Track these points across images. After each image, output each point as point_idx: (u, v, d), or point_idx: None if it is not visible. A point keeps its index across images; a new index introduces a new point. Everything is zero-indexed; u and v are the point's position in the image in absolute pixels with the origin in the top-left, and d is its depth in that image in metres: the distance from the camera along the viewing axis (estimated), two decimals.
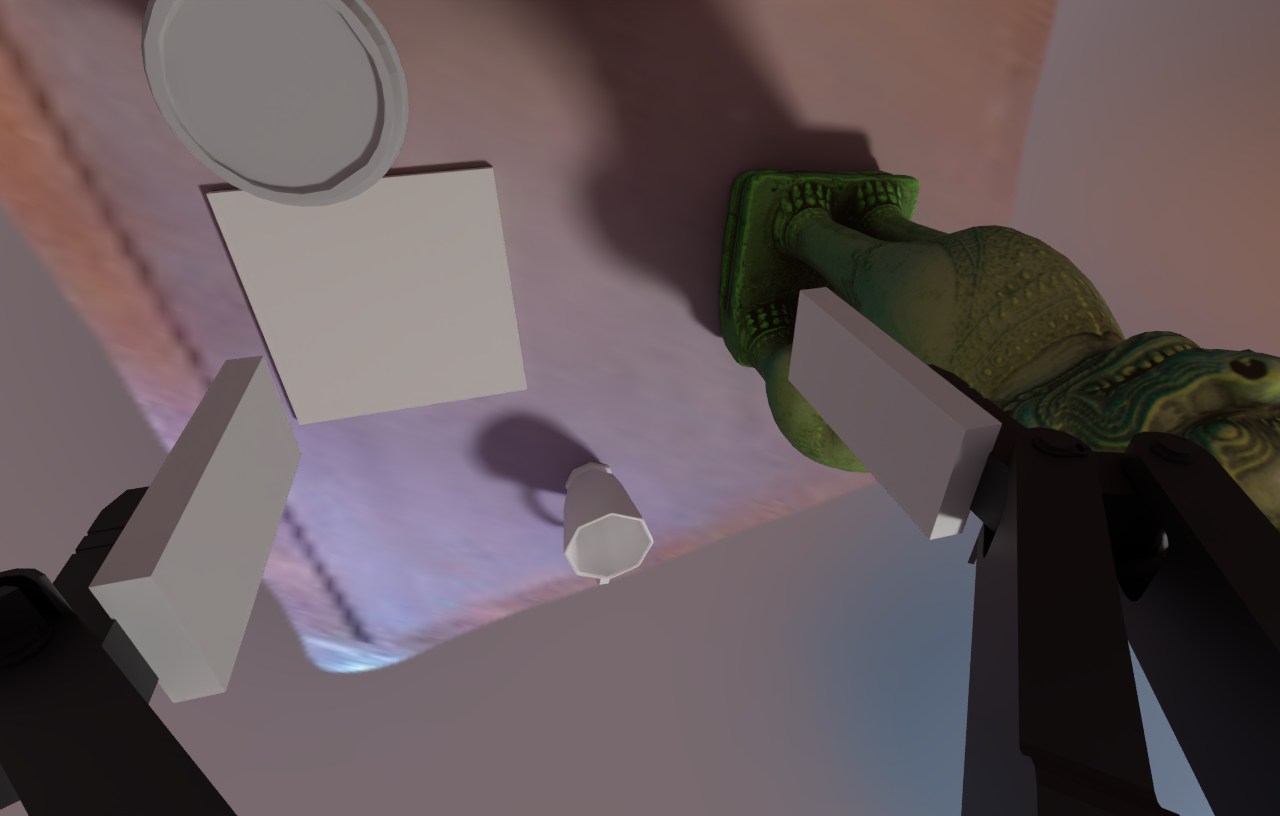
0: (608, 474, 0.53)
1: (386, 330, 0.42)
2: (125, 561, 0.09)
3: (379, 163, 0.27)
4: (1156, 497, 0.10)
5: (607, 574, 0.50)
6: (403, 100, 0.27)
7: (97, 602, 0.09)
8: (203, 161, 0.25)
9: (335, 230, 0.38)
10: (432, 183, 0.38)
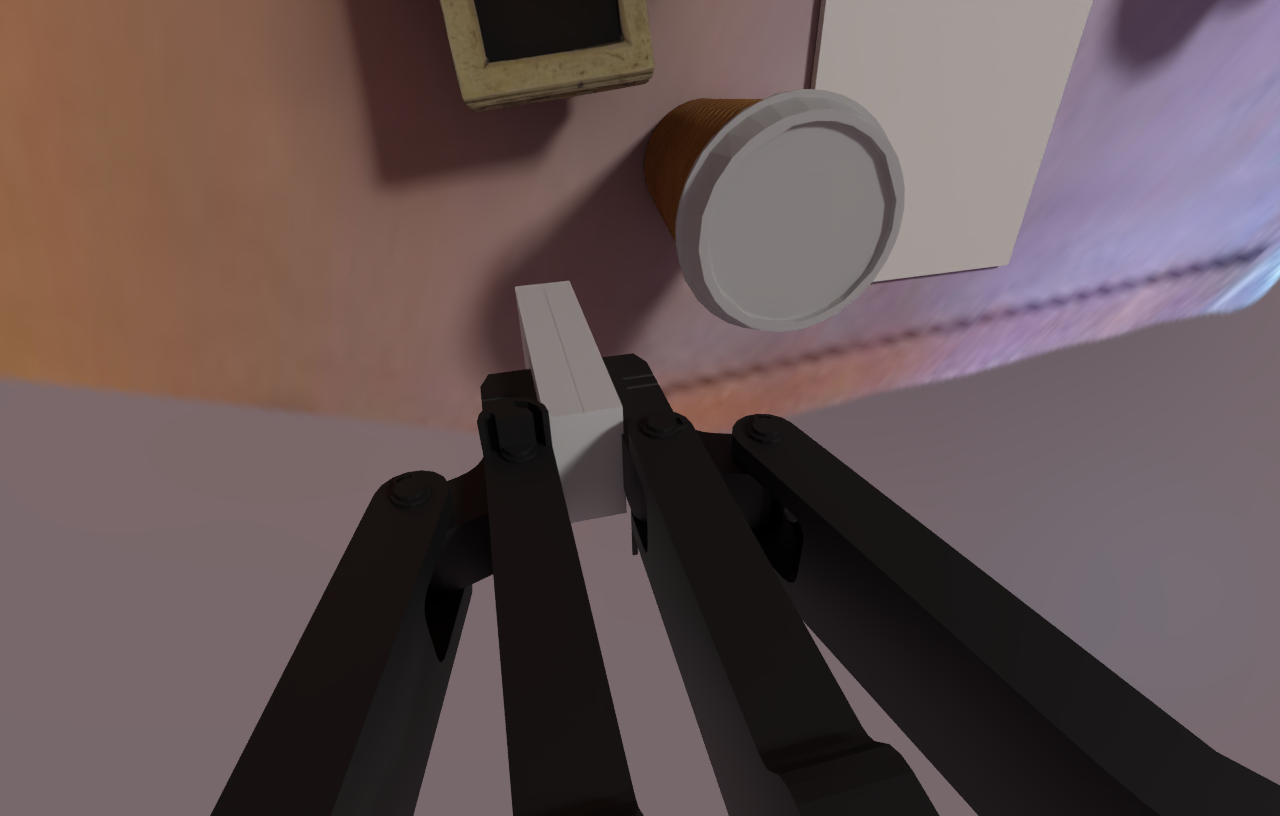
0: None
1: (956, 155, 0.37)
2: (557, 404, 0.12)
3: (887, 140, 0.23)
4: (775, 485, 0.11)
5: None
6: (823, 96, 0.23)
7: None
8: (843, 306, 0.27)
9: None
10: (827, 68, 0.33)
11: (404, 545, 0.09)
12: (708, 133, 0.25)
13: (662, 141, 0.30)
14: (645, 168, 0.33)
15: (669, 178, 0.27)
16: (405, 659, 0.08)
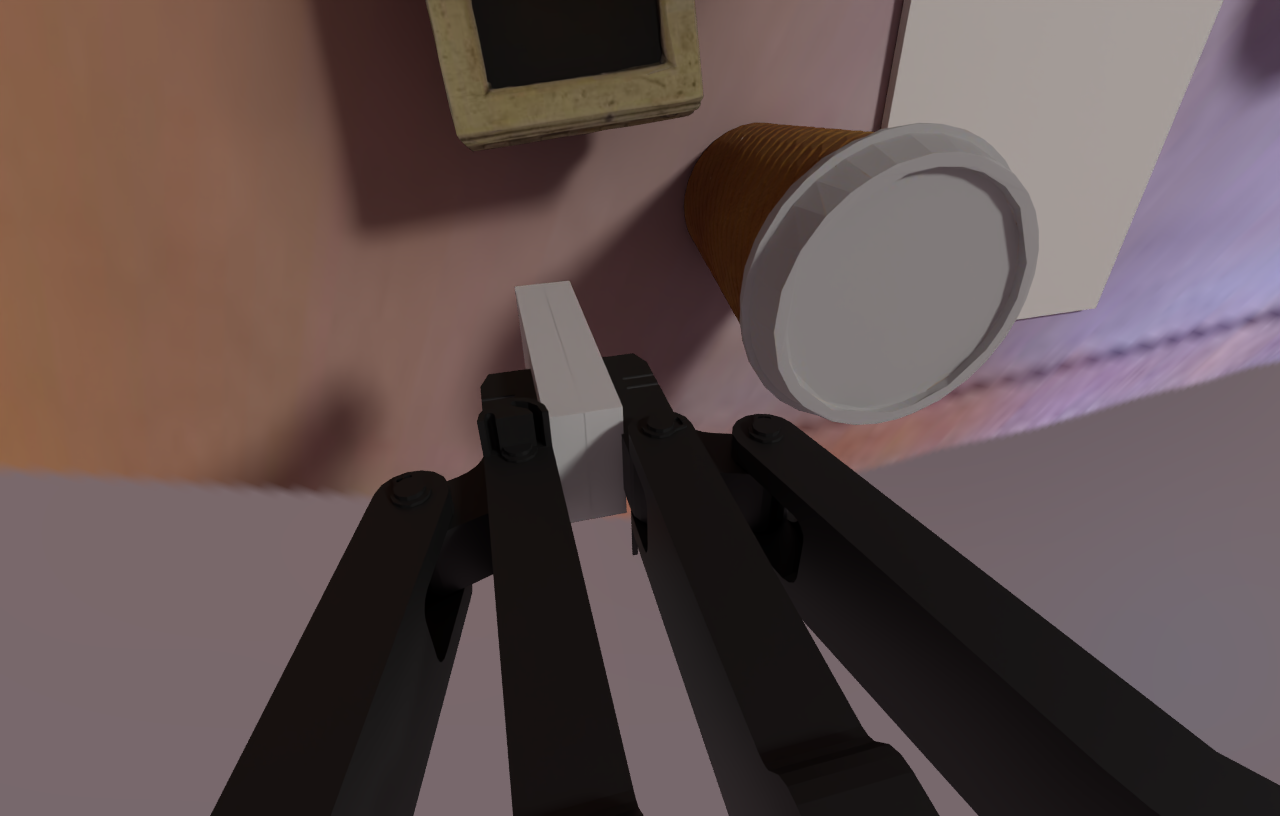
0: None
1: (1048, 186, 0.31)
2: (557, 404, 0.12)
3: (1024, 189, 0.18)
4: (775, 485, 0.11)
5: None
6: (942, 132, 0.17)
7: None
8: (946, 392, 0.21)
9: None
10: (907, 85, 0.27)
11: (404, 545, 0.09)
12: (782, 176, 0.19)
13: (711, 177, 0.25)
14: (685, 206, 0.27)
15: (725, 228, 0.22)
16: (405, 659, 0.08)
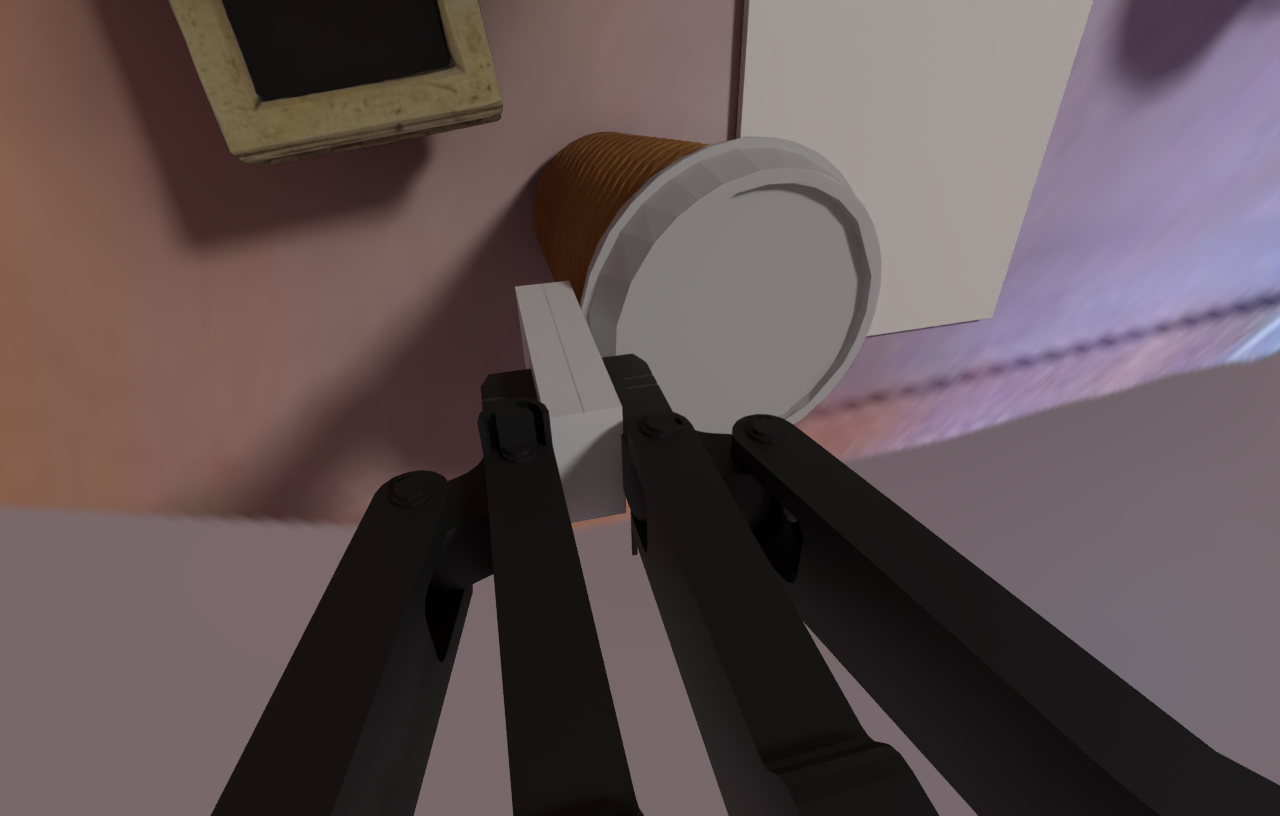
0: None
1: (925, 193, 0.30)
2: (557, 404, 0.12)
3: (859, 202, 0.17)
4: (774, 485, 0.11)
5: None
6: (772, 146, 0.16)
7: None
8: (808, 410, 0.20)
9: None
10: (756, 90, 0.26)
11: (405, 545, 0.09)
12: (614, 197, 0.18)
13: (553, 194, 0.23)
14: (534, 223, 0.26)
15: (565, 252, 0.20)
16: (405, 659, 0.08)
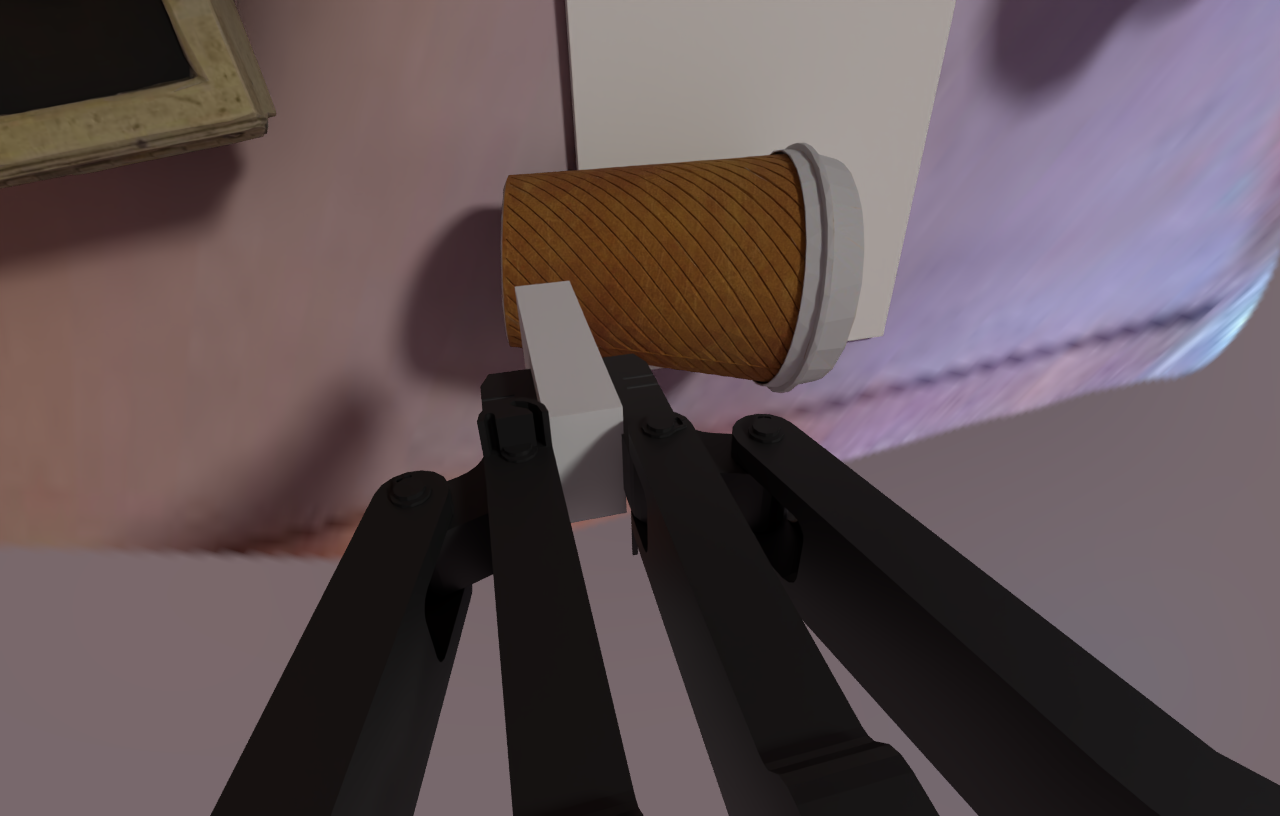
0: None
1: None
2: (557, 404, 0.12)
3: None
4: (775, 485, 0.11)
5: None
6: None
7: None
8: None
9: None
10: (588, 102, 0.24)
11: (404, 545, 0.09)
12: (760, 235, 0.21)
13: (584, 267, 0.21)
14: (512, 312, 0.22)
15: (698, 303, 0.21)
16: (405, 659, 0.08)
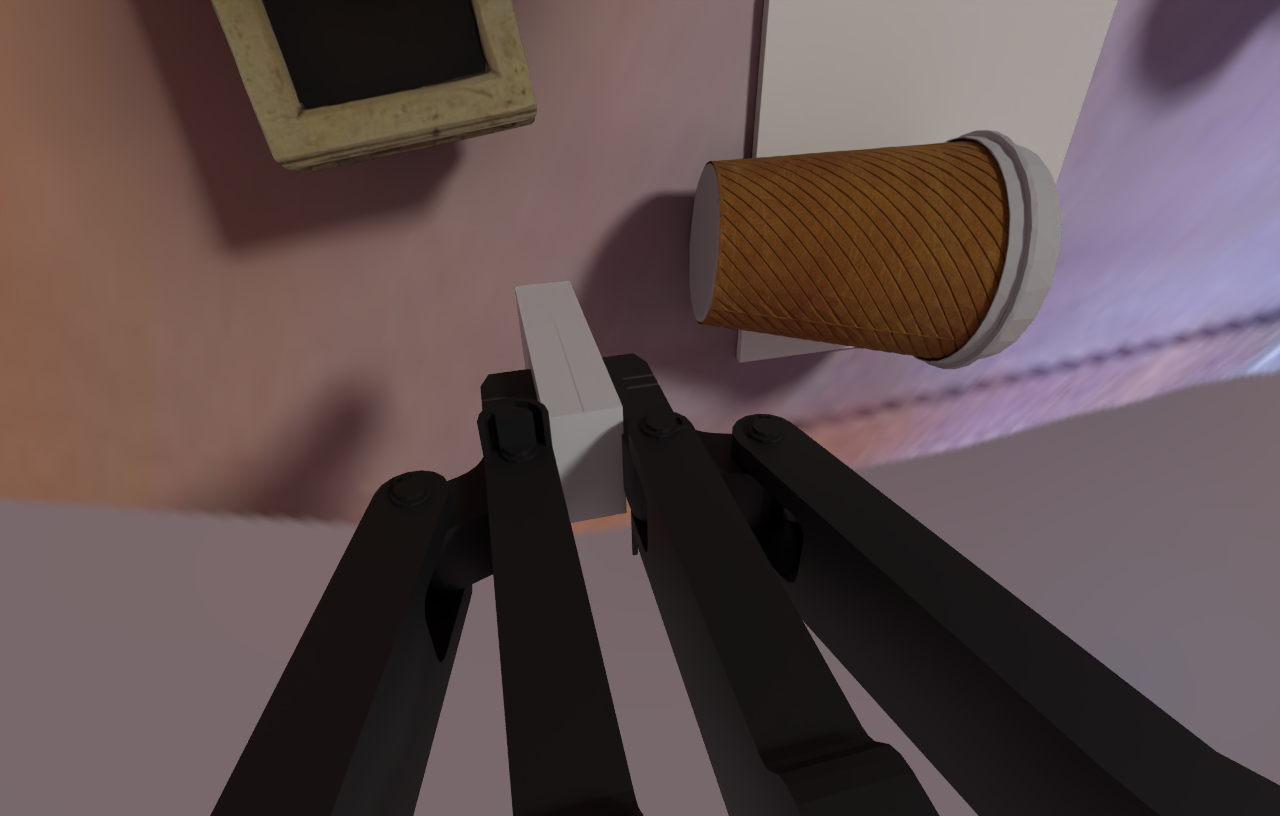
0: None
1: None
2: (557, 405, 0.12)
3: None
4: (775, 485, 0.11)
5: None
6: None
7: None
8: None
9: None
10: (774, 98, 0.26)
11: (404, 545, 0.09)
12: (964, 209, 0.22)
13: (797, 240, 0.22)
14: (722, 285, 0.23)
15: (902, 274, 0.22)
16: (405, 659, 0.08)
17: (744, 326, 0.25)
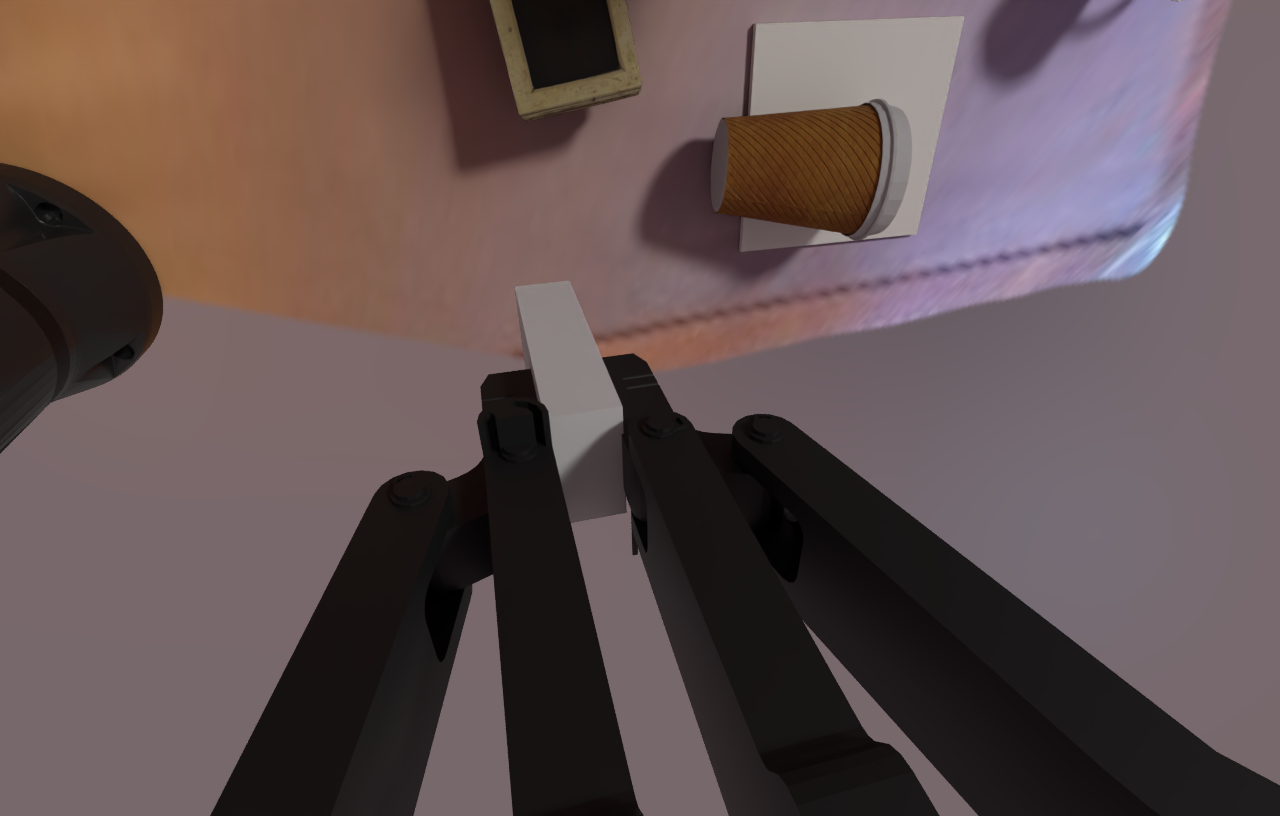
0: None
1: None
2: (557, 404, 0.12)
3: None
4: (775, 485, 0.11)
5: None
6: None
7: None
8: None
9: None
10: (759, 84, 0.45)
11: (404, 545, 0.09)
12: (859, 138, 0.41)
13: (770, 156, 0.41)
14: (730, 182, 0.42)
15: (827, 174, 0.42)
16: (405, 659, 0.08)
17: (742, 211, 0.44)
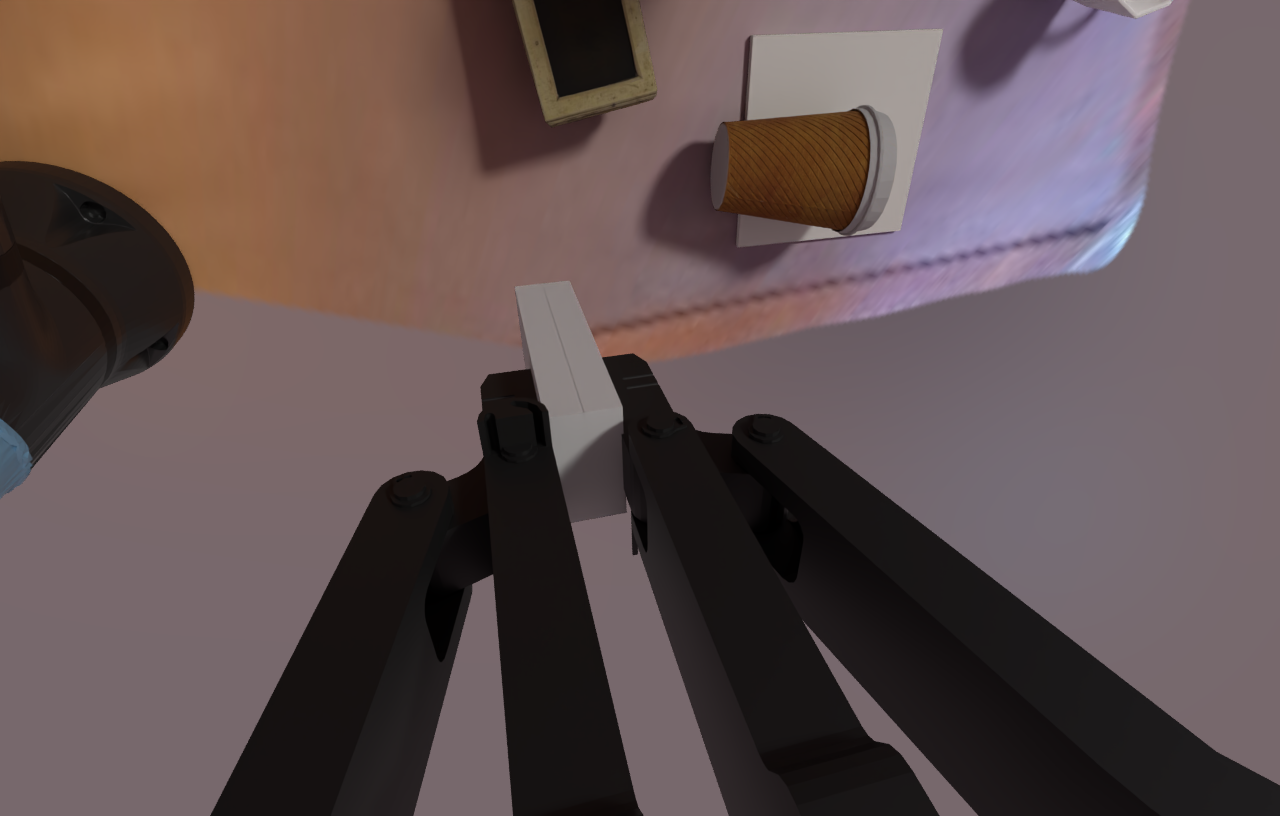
0: None
1: None
2: (557, 405, 0.12)
3: None
4: (775, 485, 0.11)
5: None
6: None
7: None
8: None
9: None
10: (756, 91, 0.49)
11: (404, 545, 0.09)
12: (848, 141, 0.45)
13: (767, 157, 0.45)
14: (730, 181, 0.46)
15: (820, 174, 0.45)
16: (405, 659, 0.08)
17: (741, 208, 0.48)
